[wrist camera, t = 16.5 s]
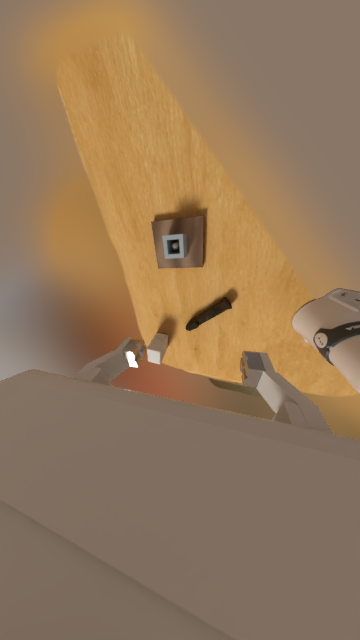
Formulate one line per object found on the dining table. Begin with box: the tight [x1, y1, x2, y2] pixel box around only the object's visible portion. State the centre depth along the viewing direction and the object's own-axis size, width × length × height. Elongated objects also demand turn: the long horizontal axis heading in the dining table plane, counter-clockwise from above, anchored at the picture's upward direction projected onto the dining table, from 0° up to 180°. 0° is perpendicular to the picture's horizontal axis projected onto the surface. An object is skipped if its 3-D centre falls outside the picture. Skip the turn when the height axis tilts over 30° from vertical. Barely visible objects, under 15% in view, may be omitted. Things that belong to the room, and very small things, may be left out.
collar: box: [162, 234, 188, 259], centre depth 35 cm, size 5×5×5 cm
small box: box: [147, 333, 168, 364], centre depth 57 cm, size 8×6×10 cm
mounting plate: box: [151, 216, 204, 268], centre depth 36 cm, size 14×12×5 cm
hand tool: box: [186, 298, 232, 331], centre depth 47 cm, size 19×4×5 cm, turn 131°
